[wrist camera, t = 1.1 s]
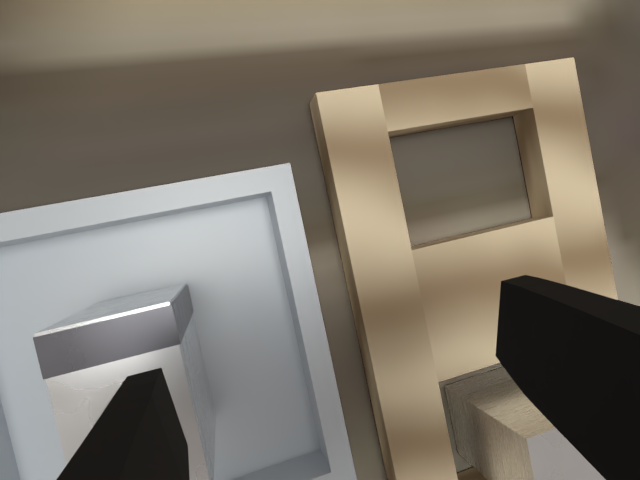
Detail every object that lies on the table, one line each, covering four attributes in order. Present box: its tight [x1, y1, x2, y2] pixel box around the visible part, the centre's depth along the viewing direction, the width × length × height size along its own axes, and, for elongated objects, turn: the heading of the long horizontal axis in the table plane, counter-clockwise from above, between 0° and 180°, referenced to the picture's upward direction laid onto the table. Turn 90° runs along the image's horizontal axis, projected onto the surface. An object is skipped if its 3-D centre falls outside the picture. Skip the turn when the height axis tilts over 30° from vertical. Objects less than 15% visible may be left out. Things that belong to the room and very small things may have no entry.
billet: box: [445, 367, 606, 480], centre depth 19 cm, size 4×6×6 cm, turn 103°
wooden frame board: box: [309, 58, 618, 480], centre depth 21 cm, size 22×14×2 cm, turn 13°
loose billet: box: [33, 282, 216, 480], centre depth 15 cm, size 4×6×6 cm, turn 13°
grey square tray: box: [0, 163, 357, 480], centre depth 17 cm, size 14×14×2 cm
